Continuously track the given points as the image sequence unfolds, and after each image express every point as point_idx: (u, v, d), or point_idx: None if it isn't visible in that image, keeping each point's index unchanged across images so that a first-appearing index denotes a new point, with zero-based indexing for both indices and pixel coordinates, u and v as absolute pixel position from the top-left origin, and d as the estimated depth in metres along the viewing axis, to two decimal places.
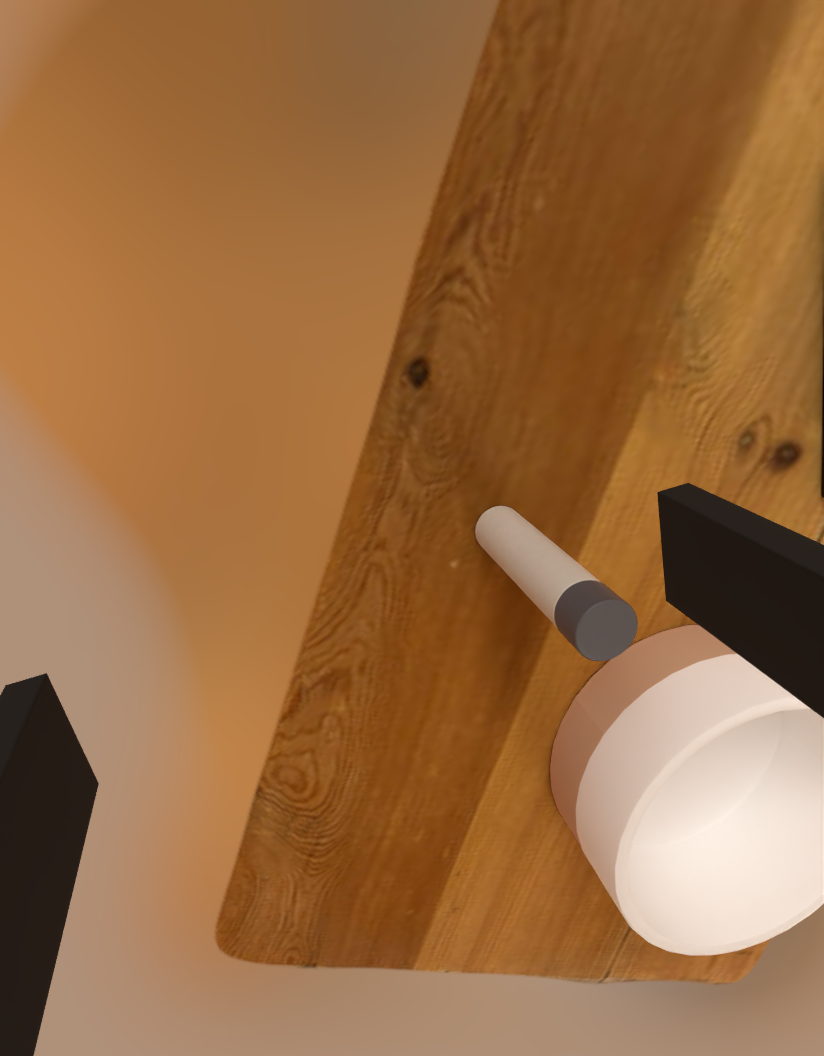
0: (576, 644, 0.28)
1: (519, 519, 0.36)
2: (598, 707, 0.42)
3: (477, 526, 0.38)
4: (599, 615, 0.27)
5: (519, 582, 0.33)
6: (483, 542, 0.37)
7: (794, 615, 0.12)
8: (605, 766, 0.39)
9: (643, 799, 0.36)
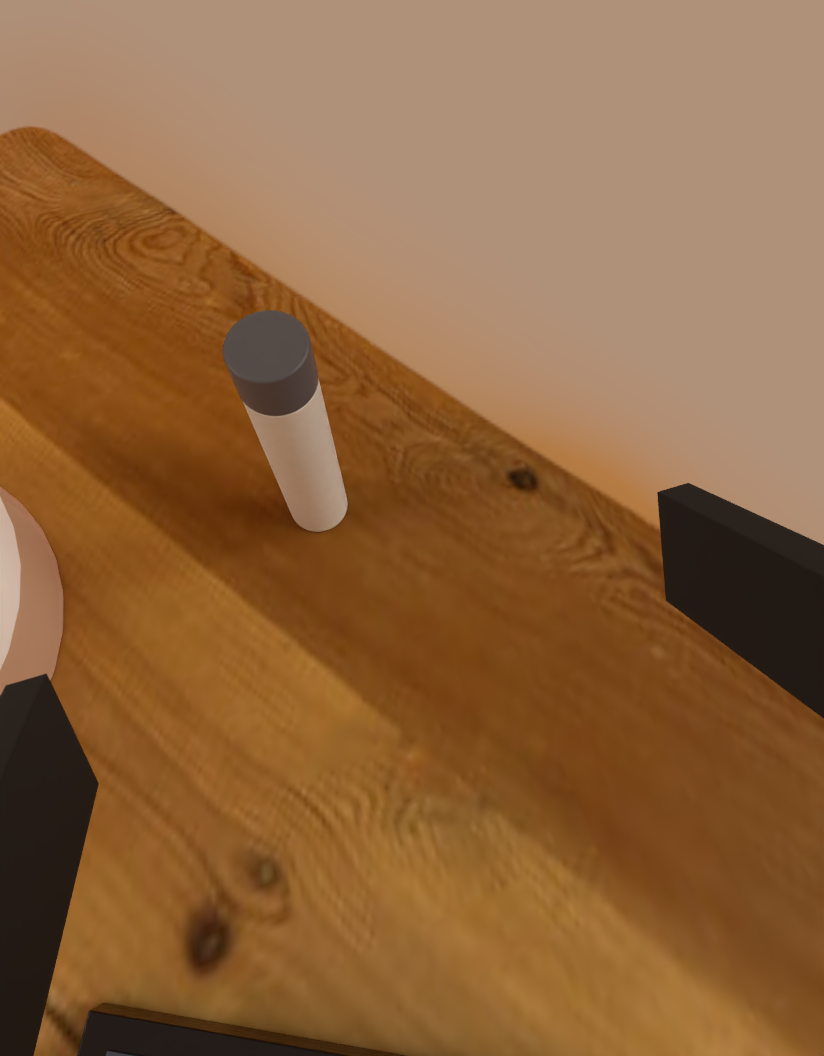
0: None
1: (337, 497, 0.30)
2: (25, 524, 0.30)
3: None
4: (293, 341, 0.22)
5: None
6: None
7: (794, 615, 0.12)
8: None
9: None
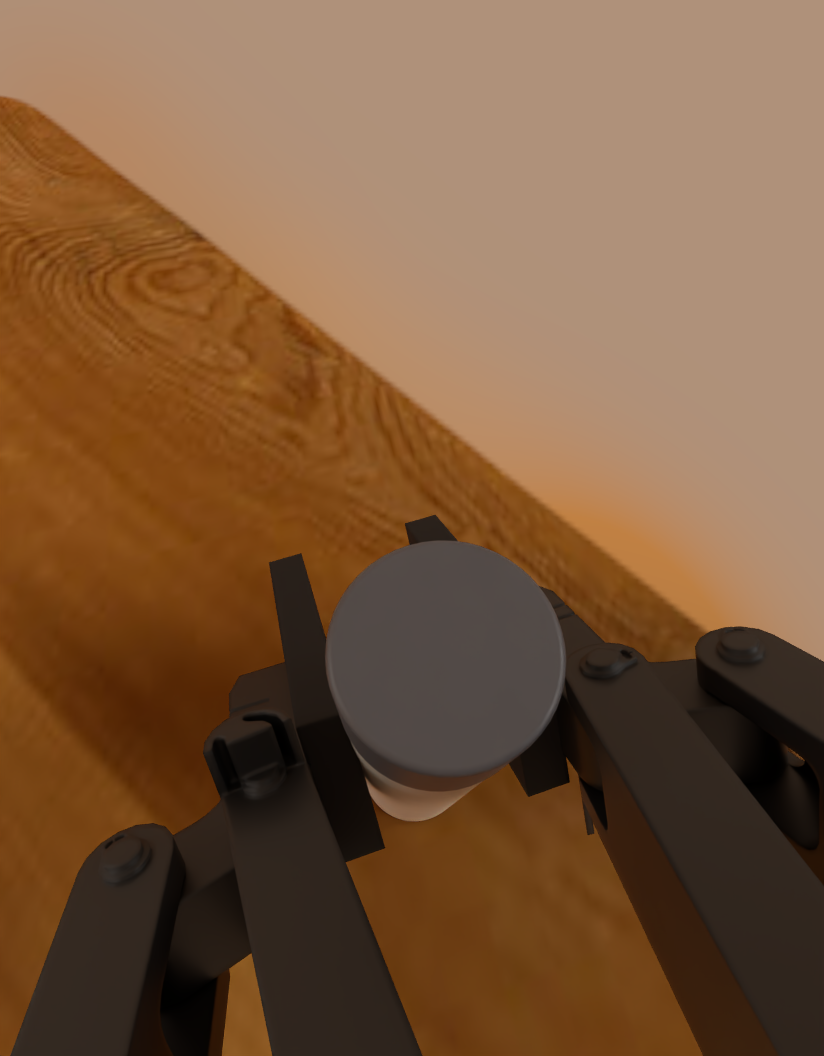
0: (454, 541, 0.08)
1: None
2: None
3: None
4: (522, 643, 0.08)
5: None
6: None
7: None
8: None
9: None
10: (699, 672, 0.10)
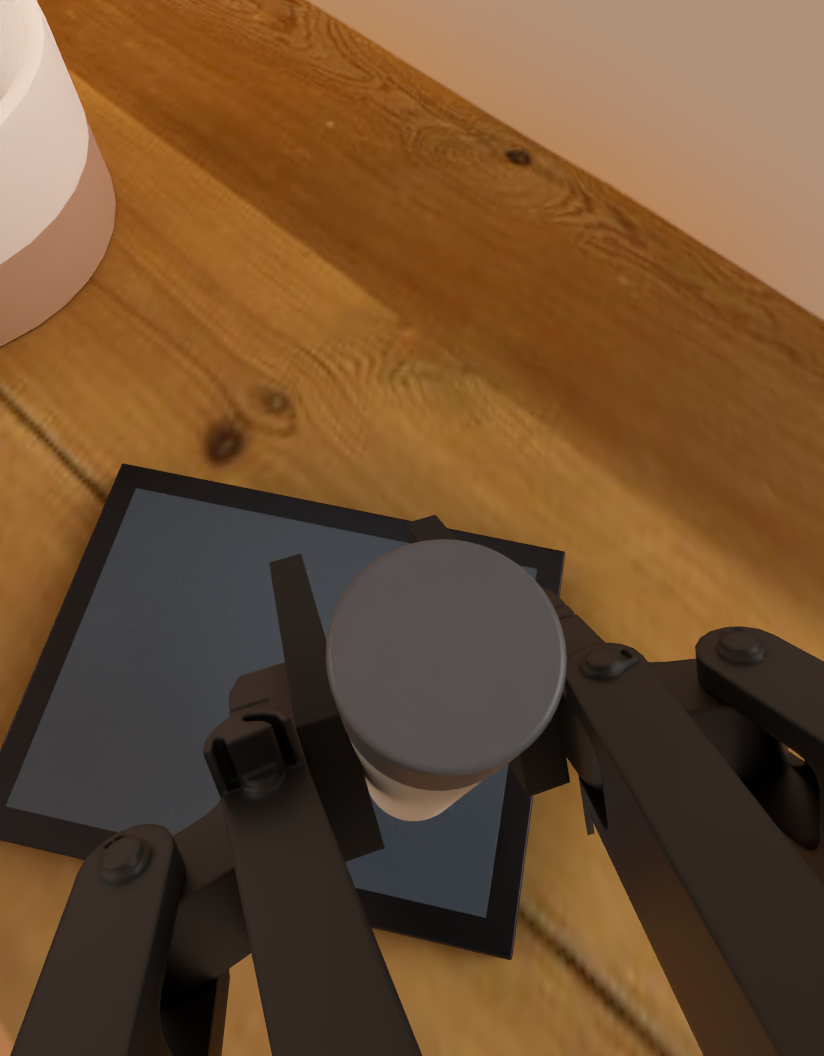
0: (455, 540, 0.08)
1: None
2: None
3: None
4: (522, 642, 0.08)
5: None
6: None
7: None
8: None
9: None
10: (699, 672, 0.10)
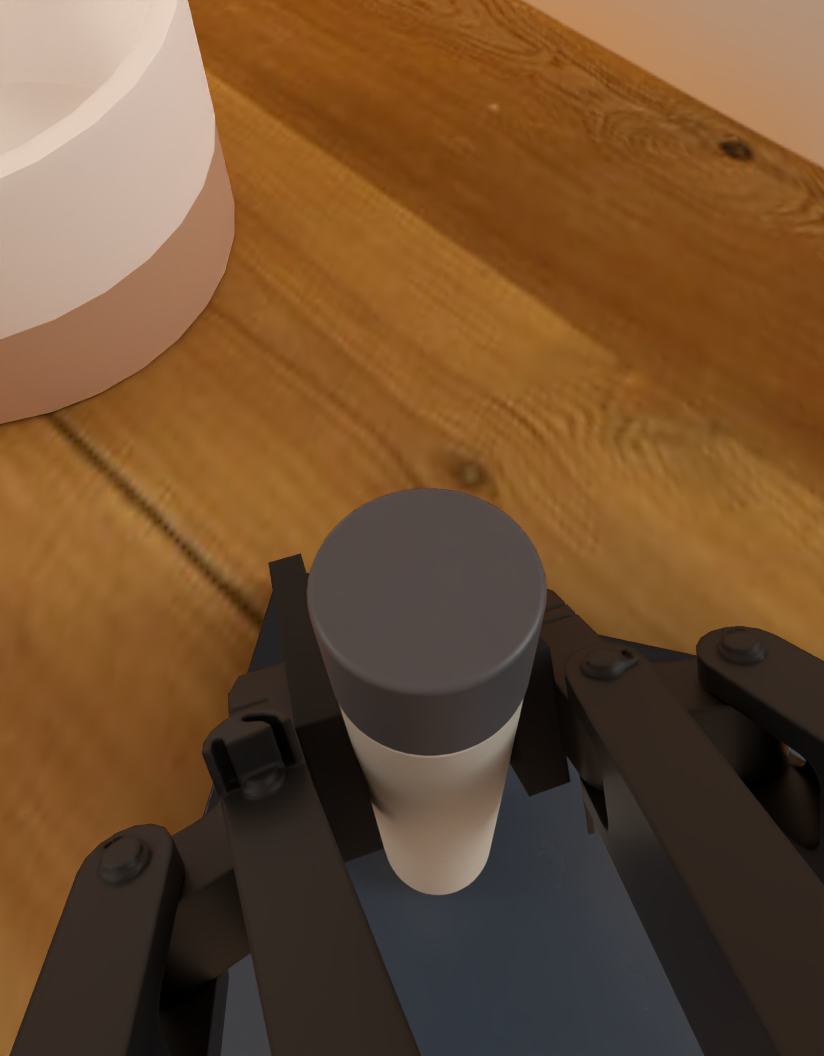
0: None
1: (487, 846, 0.15)
2: None
3: None
4: (501, 572, 0.08)
5: None
6: None
7: None
8: None
9: None
10: (700, 672, 0.10)
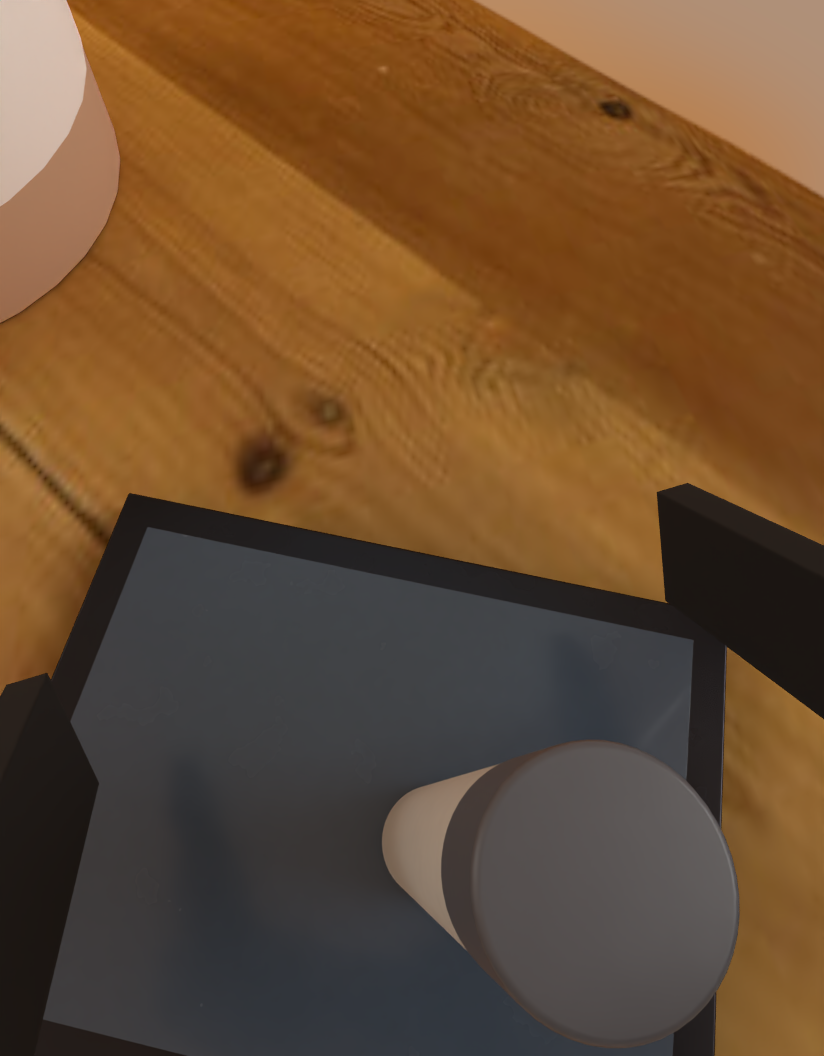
0: (608, 743, 0.07)
1: None
2: None
3: None
4: (692, 876, 0.07)
5: None
6: None
7: (793, 615, 0.12)
8: None
9: None
10: None
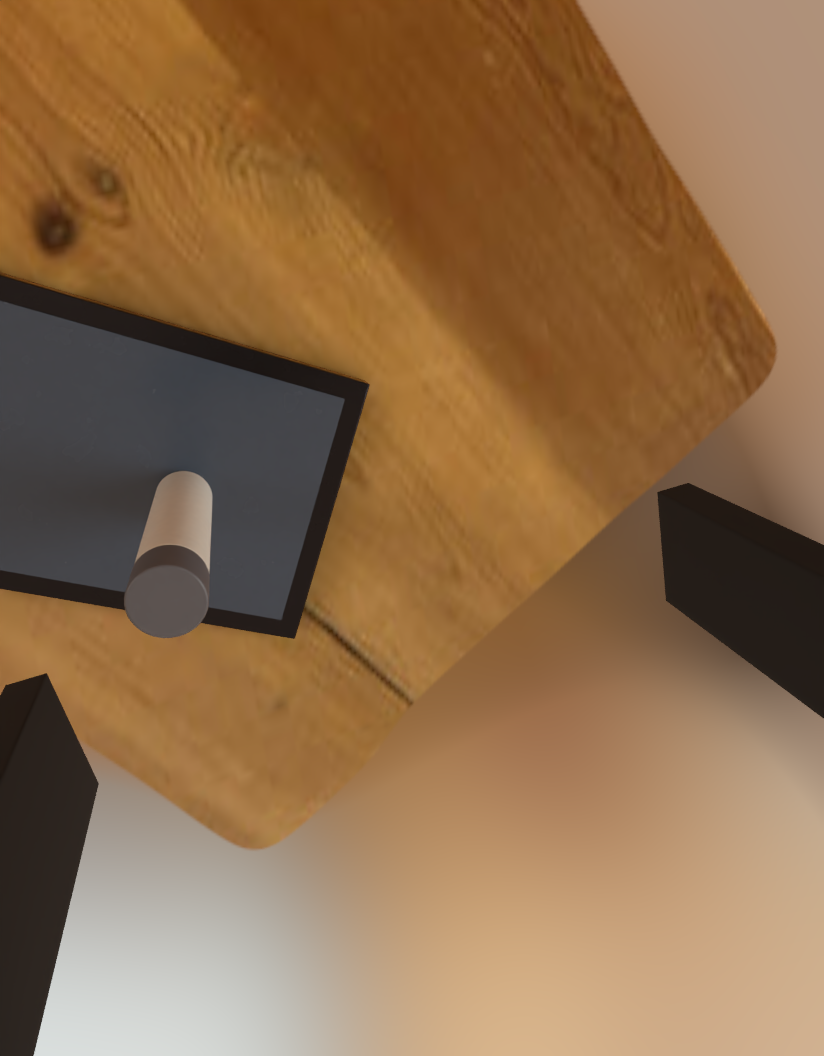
0: (171, 566, 0.23)
1: None
2: None
3: (201, 478, 0.34)
4: (193, 601, 0.24)
5: (183, 511, 0.29)
6: (191, 479, 0.33)
7: (794, 615, 0.12)
8: None
9: None
10: None
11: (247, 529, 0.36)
